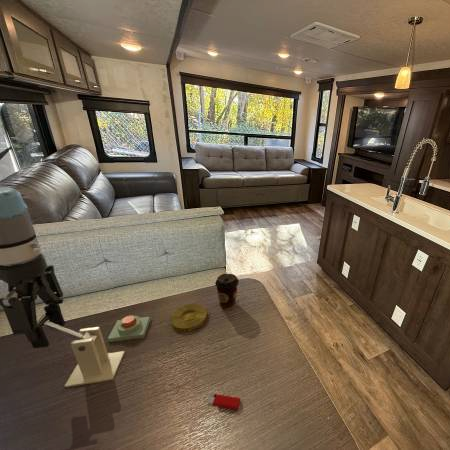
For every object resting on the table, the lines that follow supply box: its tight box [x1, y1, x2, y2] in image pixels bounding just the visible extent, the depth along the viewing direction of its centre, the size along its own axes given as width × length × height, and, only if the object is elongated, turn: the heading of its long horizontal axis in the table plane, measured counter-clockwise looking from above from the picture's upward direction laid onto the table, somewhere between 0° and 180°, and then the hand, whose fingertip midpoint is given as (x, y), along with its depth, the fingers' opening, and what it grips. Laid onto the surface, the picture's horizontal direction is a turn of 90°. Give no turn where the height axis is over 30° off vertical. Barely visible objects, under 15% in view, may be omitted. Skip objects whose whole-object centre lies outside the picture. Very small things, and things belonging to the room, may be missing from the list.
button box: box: [107, 315, 151, 343], centre depth 83 cm, size 10×8×4 cm
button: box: [121, 314, 135, 328], centre depth 82 cm, size 4×4×2 cm
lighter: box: [207, 393, 241, 411], centre depth 66 cm, size 3×1×8 cm
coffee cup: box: [214, 273, 240, 310], centre depth 98 cm, size 9×8×13 cm
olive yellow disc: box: [170, 303, 208, 333], centre depth 90 cm, size 12×12×2 cm
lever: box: [37, 311, 97, 342], centre depth 64 cm, size 13×6×2 cm
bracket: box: [64, 326, 126, 388], centre depth 68 cm, size 11×9×14 cm
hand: (50, 335), depth 63 cm, fingers closed on lever, 6 cm apart
